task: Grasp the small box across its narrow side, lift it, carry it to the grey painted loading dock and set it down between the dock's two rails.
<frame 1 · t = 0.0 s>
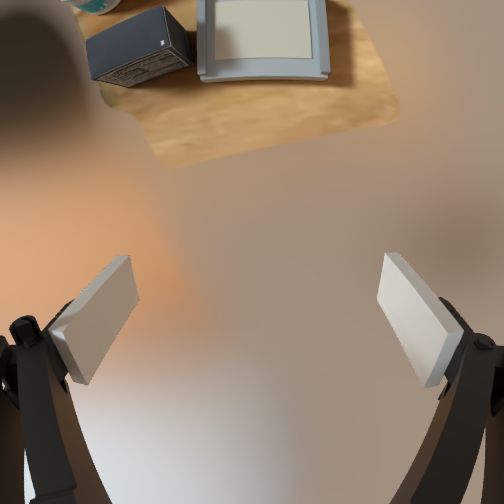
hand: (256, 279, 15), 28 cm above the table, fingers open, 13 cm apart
dock: (262, 34, 32), on the table
small box: (156, 58, 34), on the table
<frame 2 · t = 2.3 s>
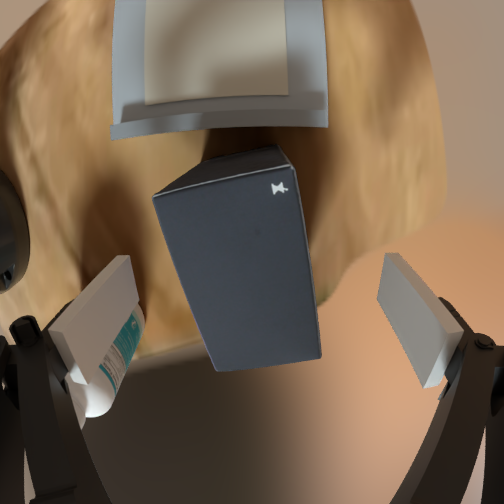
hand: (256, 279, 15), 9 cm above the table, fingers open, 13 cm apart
pill bottle: (114, 310, 27), on the table
dock: (218, 28, 17), on the table
small box: (252, 217, 23), on the table
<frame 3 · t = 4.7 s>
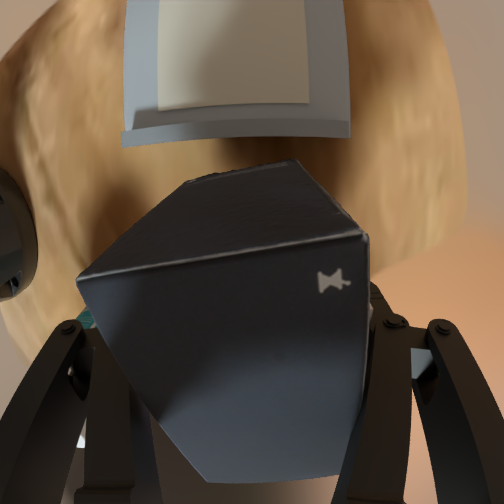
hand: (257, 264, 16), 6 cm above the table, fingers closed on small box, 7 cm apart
pill bottle: (124, 321, 27), on the table
dock: (235, 31, 16), on the table
small box: (255, 259, 17), point 5 cm above the table, touching gripper
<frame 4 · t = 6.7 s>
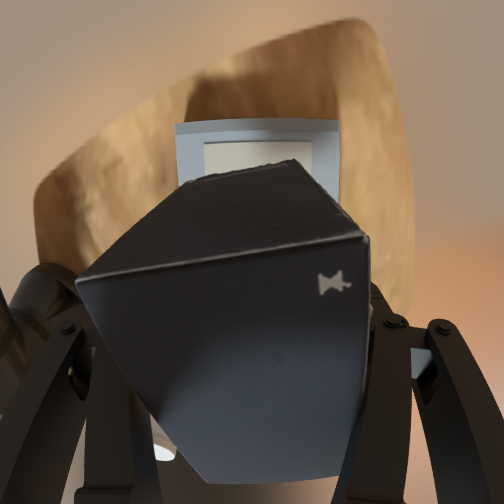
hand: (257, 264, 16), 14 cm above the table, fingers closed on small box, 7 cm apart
pill bottle: (177, 372, 39), on the table
dock: (259, 202, 29), on the table
small box: (255, 260, 17), point 13 cm above the table, touching gripper
when the fingers open (4 cm above the table, at t = 8.7 s): small box stays where it is, resting on dock.
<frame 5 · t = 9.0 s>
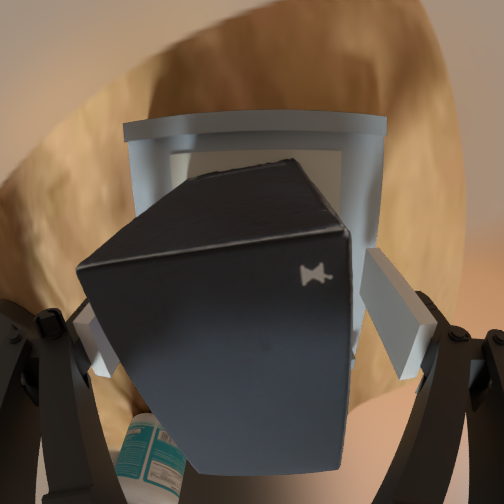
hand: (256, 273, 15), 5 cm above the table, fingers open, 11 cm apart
pill bottle: (162, 426, 30), on the table
dock: (258, 237, 20), on the table
small box: (254, 257, 17), point 3 cm above the table, touching dock
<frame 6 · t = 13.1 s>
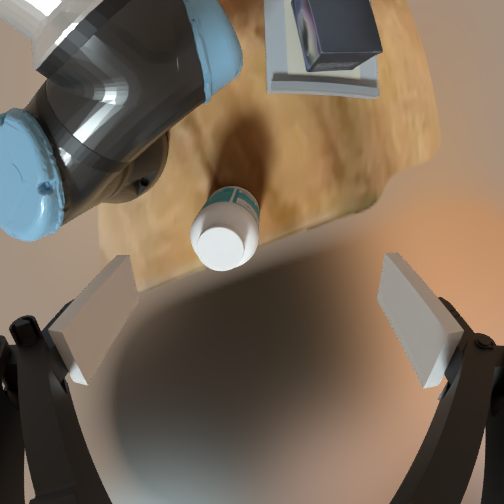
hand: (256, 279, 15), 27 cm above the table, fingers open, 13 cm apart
pill bottle: (233, 210, 41), on the table
dock: (318, 40, 31), on the table
small box: (321, 34, 28), point 3 cm above the table, touching dock
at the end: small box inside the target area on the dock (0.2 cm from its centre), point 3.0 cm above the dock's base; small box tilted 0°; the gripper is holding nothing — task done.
